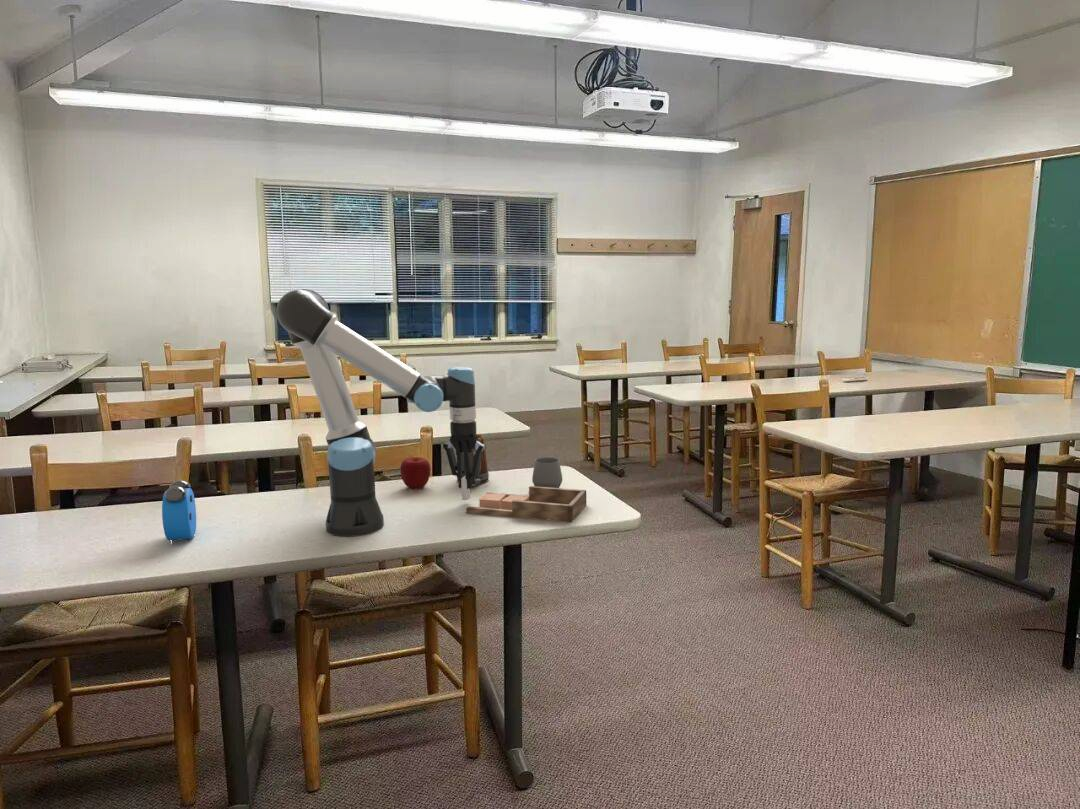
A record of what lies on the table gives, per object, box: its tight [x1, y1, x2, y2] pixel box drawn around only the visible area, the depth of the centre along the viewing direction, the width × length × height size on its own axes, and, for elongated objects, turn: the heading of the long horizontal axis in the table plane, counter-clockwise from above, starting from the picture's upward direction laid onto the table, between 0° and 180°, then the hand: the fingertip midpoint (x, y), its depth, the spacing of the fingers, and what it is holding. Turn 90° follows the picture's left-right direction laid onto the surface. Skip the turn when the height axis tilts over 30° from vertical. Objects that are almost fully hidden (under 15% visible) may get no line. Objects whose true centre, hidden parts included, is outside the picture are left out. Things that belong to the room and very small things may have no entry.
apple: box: [399, 456, 431, 490], centre depth 227 cm, size 10×10×10 cm
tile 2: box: [501, 495, 529, 510], centre depth 206 cm, size 6×6×3 cm
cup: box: [531, 456, 563, 488], centre depth 221 cm, size 10×9×10 cm
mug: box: [456, 433, 490, 486], centre depth 231 cm, size 16×11×15 cm
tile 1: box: [478, 493, 506, 509], centre depth 208 cm, size 6×6×3 cm
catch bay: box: [465, 485, 587, 523], centre depth 204 cm, size 31×15×4 cm, turn 72°
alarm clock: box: [161, 479, 197, 542], centre depth 184 cm, size 13×6×15 cm, turn 18°
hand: (466, 498), depth 211 cm, fingers closed
